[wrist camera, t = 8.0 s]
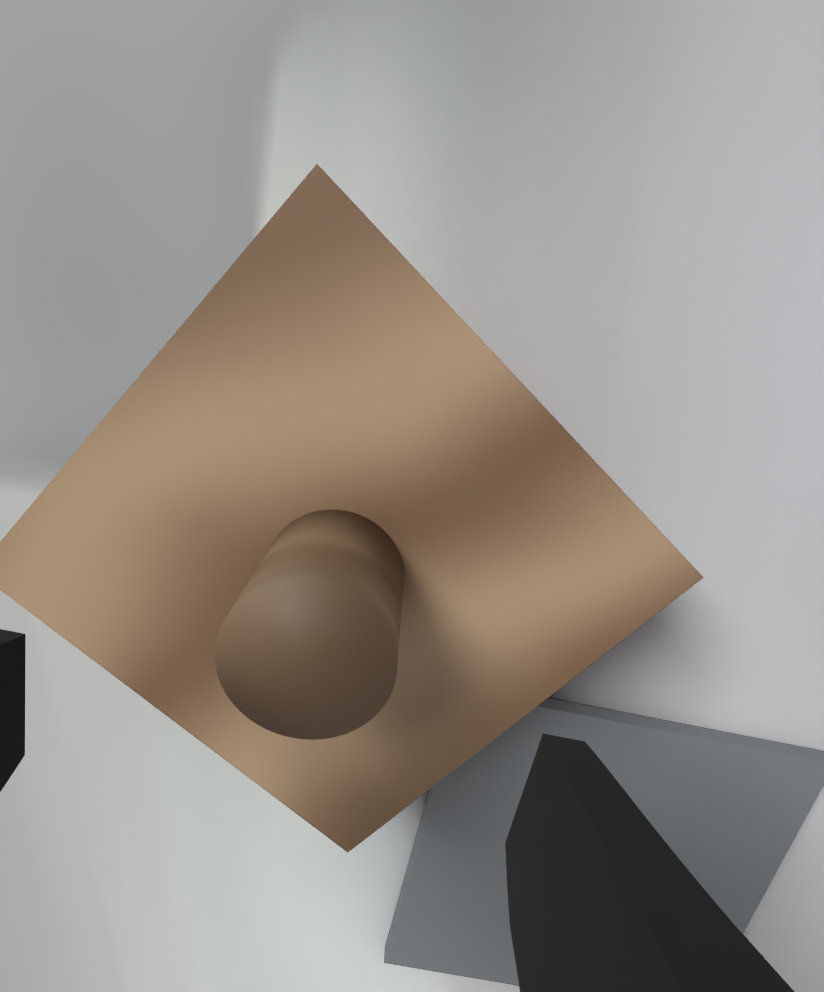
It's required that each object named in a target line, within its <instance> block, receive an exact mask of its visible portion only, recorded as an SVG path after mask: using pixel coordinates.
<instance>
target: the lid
mask: <svg viewBox="0 0 824 992" xmlns="http://www.w3.org/2000/svg"><path fill="white" fill-rule="evenodd" d="M702 578H703V576H702V575H701V574H700V573H699V572H698V571H697V570H696V569H695V568H694V567H693V566H692V565H691V564H690V563H689V561H688V560H687V559H686V558H685V557H684V556H683V555H682V554H681V553H680V552H679V551H678V550H677V549H676V548H675V546H674V545H673V544H672V543H671V542H670V541H669V540H668V539H667V538H666V537H665V536H664V535H663V534H662V533H661V531H660V530H659V529H658V528H657V527H656V526H655V525H654V524H653V523H652V522H651V521H650V520H649V519H648V518H647V517H646V515H645V514H644V513H643V512H642V511H641V510H640V509H639V508H638V507H637V506H636V505H635V504H634V503H633V502H632V500H631V499H630V498H629V497H628V496H627V495H626V494H625V493H624V492H623V491H622V490H621V489H620V488H619V487H618V485H617V484H616V483H615V482H614V481H613V480H612V479H611V478H610V477H609V476H608V475H607V474H606V473H605V472H604V470H603V469H602V468H601V467H600V466H599V465H598V464H597V463H596V462H595V461H594V460H593V459H592V458H591V457H590V456H589V454H588V453H587V452H586V451H585V450H584V449H583V448H582V447H581V446H580V445H579V444H578V443H577V442H576V441H575V439H574V438H573V437H572V436H571V435H570V434H569V433H568V432H567V431H566V430H565V429H564V428H563V427H562V426H561V424H560V423H559V422H558V421H557V420H556V419H555V418H554V417H553V416H552V415H551V414H550V413H549V412H548V411H547V409H546V408H545V407H544V406H543V405H542V404H541V403H540V402H539V401H538V400H537V399H536V398H535V397H534V396H533V394H532V393H531V392H530V391H529V390H528V389H527V388H526V387H525V386H524V385H523V384H522V383H521V382H520V381H519V380H518V378H517V377H516V376H515V375H514V374H513V373H512V372H511V371H510V370H509V369H508V368H507V367H506V366H505V365H504V363H503V362H502V361H501V360H500V359H499V358H498V357H497V356H496V355H495V354H494V353H493V352H492V351H491V350H490V348H489V347H488V346H487V345H486V344H485V343H484V342H483V341H482V340H481V339H480V338H479V337H478V336H477V335H476V333H475V332H474V331H473V330H472V329H471V328H470V327H469V326H468V325H467V324H466V323H465V322H464V321H463V320H462V319H461V317H460V316H459V315H458V314H457V313H456V312H455V311H454V310H453V309H452V308H451V307H450V306H449V305H448V304H447V302H446V301H445V300H444V299H443V298H442V297H441V296H440V295H439V294H438V293H437V292H436V291H435V290H434V289H433V287H432V286H431V285H430V284H429V283H428V282H427V281H426V280H425V279H424V278H423V277H422V276H421V275H420V274H419V272H418V271H417V270H416V269H415V268H414V267H413V266H412V265H411V264H410V263H409V262H408V261H407V260H406V259H405V258H404V256H403V255H402V254H401V253H400V252H399V251H398V250H397V249H396V248H395V247H394V246H393V245H392V244H391V243H390V241H389V240H388V239H387V238H386V237H385V236H384V235H383V234H382V233H381V232H380V231H379V230H378V229H377V228H376V226H375V225H374V224H373V223H372V222H371V221H370V220H369V219H368V218H367V217H366V216H365V215H364V214H363V213H362V211H361V210H360V209H359V208H358V207H357V206H356V205H355V204H354V203H353V202H352V201H351V200H350V199H349V198H348V197H347V195H346V194H345V193H344V192H343V191H342V190H341V189H340V188H339V187H338V186H337V185H336V184H335V183H334V182H333V180H332V179H331V178H330V177H329V176H328V175H327V174H326V173H325V172H324V171H323V170H322V169H321V168H320V167H319V165H318V164H316V166H315V167H314V168H313V169H312V170H311V172H310V173H309V174H308V175H307V176H306V178H305V179H304V180H303V181H302V182H301V184H300V185H299V186H298V187H297V188H296V190H295V191H294V192H293V193H292V194H291V195H290V197H289V198H288V199H287V200H286V201H285V203H284V204H283V205H282V206H281V207H280V209H279V210H278V211H277V212H276V213H275V215H274V216H273V217H272V218H271V219H270V221H269V222H268V223H267V224H266V225H265V227H264V228H263V229H262V230H261V231H260V232H259V234H258V235H257V236H256V237H255V238H254V240H253V241H252V242H251V243H250V244H249V246H248V247H247V248H246V249H245V250H244V252H243V253H242V254H241V255H240V256H239V258H238V259H237V260H236V261H235V262H234V264H233V265H232V266H231V267H230V268H229V269H228V271H227V272H226V273H225V274H224V276H223V277H222V278H221V279H220V280H219V281H218V283H217V284H216V285H215V286H214V287H213V289H212V290H211V291H210V292H209V293H208V295H207V296H206V297H205V298H204V299H203V301H202V302H201V303H200V304H199V305H198V307H197V308H196V309H195V310H194V311H193V312H192V314H191V315H190V316H189V317H188V318H187V320H186V321H185V322H184V323H183V325H182V326H181V327H180V328H179V329H178V330H177V332H176V333H175V334H174V335H173V336H172V338H171V339H170V340H169V341H168V342H167V344H166V345H165V346H164V347H163V348H162V349H161V351H160V352H159V353H158V354H157V355H156V357H155V358H154V359H153V360H152V361H151V363H150V364H149V365H148V366H147V367H146V369H145V370H144V371H143V372H142V373H141V375H140V376H139V377H138V378H137V379H136V381H135V382H134V383H133V384H132V385H131V386H130V388H129V389H128V390H127V391H126V392H125V394H124V395H123V396H122V397H121V398H120V400H119V401H118V402H117V403H116V404H115V406H114V407H113V408H112V409H111V410H110V412H109V413H108V414H107V415H106V416H105V418H104V419H103V420H102V421H101V422H100V423H99V425H98V426H97V427H96V428H95V429H94V431H93V432H92V433H91V434H90V436H89V437H88V438H87V439H86V440H85V441H84V443H83V444H82V445H81V446H80V448H79V449H78V450H77V451H76V452H75V453H74V455H73V456H72V457H71V458H70V459H69V460H68V462H67V463H66V464H65V465H64V466H63V468H62V469H61V470H60V471H59V472H58V474H57V475H56V476H55V477H54V478H53V480H52V481H51V482H50V483H49V484H48V486H47V487H46V488H45V489H44V490H43V492H42V493H41V494H40V495H39V496H38V497H37V499H36V500H35V501H34V502H33V503H32V505H31V506H30V507H29V508H28V509H27V511H26V512H25V513H24V514H23V515H22V517H21V518H20V519H19V520H18V521H17V523H16V524H15V525H14V526H13V527H12V529H11V530H10V531H9V532H8V533H7V535H6V536H5V537H4V538H3V539H2V540H1V542H0V590H1V591H2V592H4V593H5V594H6V595H8V596H9V597H10V598H12V599H13V600H14V601H16V602H17V603H18V604H20V605H21V606H22V607H24V608H25V609H26V610H28V611H29V612H30V613H32V614H33V615H34V616H36V617H37V618H38V619H39V620H41V621H42V622H43V623H45V624H46V625H47V626H49V627H50V628H51V629H53V630H54V631H55V632H57V633H58V634H59V635H61V636H62V637H63V638H65V639H66V640H67V641H69V642H70V643H71V644H73V645H74V646H75V647H77V648H78V649H79V650H81V651H82V652H83V653H84V654H86V655H87V656H88V657H90V658H91V659H92V660H94V661H95V662H96V663H98V664H99V665H100V666H102V667H103V668H104V669H106V670H107V671H108V672H110V673H111V674H112V675H114V676H115V677H116V678H118V679H119V680H120V681H122V682H123V683H124V684H126V685H127V686H128V687H129V688H131V689H132V690H133V691H135V692H136V693H137V694H139V695H140V696H141V697H143V698H144V699H145V700H147V701H148V702H149V703H151V704H152V705H153V706H155V707H156V708H157V709H159V710H160V711H161V712H163V713H164V714H165V715H167V716H168V717H169V718H171V719H172V720H173V721H174V722H176V723H177V724H178V725H180V726H181V727H182V728H184V729H185V730H186V731H188V732H189V733H190V734H192V735H193V736H194V737H196V738H197V739H198V740H200V741H201V742H202V743H204V744H205V745H206V746H208V747H209V748H210V749H212V750H213V751H214V752H216V753H217V754H218V755H220V756H221V757H222V758H223V759H225V760H226V761H227V762H229V763H230V764H231V765H233V766H234V767H235V768H237V769H238V770H239V771H241V772H242V773H243V774H245V775H246V776H247V777H249V778H250V779H251V780H253V781H254V782H255V783H257V784H258V785H259V786H261V787H262V788H263V789H265V790H266V791H267V792H268V793H270V794H271V795H272V796H274V797H275V798H276V799H278V800H279V801H280V802H282V803H283V804H284V805H286V806H287V807H288V808H290V809H291V810H292V811H294V812H295V813H296V814H298V815H299V816H300V817H302V818H303V819H304V820H306V821H307V822H308V823H310V824H311V825H312V826H313V827H315V828H316V829H317V830H319V831H320V832H321V833H323V834H324V835H325V836H327V837H328V838H329V839H331V840H332V841H333V842H335V843H336V844H337V845H339V846H340V847H341V848H343V849H344V850H345V851H347V852H349V851H350V850H352V849H353V848H354V847H355V846H357V845H358V844H359V843H361V842H362V841H363V840H364V839H366V838H367V837H368V836H370V835H371V834H372V833H374V832H375V831H376V830H377V829H379V828H380V827H381V826H383V825H384V824H385V823H386V822H388V821H389V820H390V819H392V818H393V817H394V816H396V815H397V814H398V813H399V812H401V811H402V810H403V809H405V808H406V807H407V806H408V805H410V804H411V803H412V802H414V801H415V800H416V799H418V798H419V797H420V796H421V795H423V794H424V793H425V792H427V791H428V790H429V789H430V788H432V787H433V786H434V785H436V784H437V783H438V782H440V781H441V780H442V779H443V778H445V777H446V776H447V775H449V774H450V773H451V772H452V771H454V770H455V769H456V768H458V767H459V766H460V765H462V764H463V763H464V762H465V761H467V760H468V759H469V758H471V757H472V756H473V755H474V754H476V753H477V752H478V751H480V750H481V749H482V748H484V747H485V746H486V745H487V744H489V743H490V742H491V741H493V740H494V739H495V738H496V737H498V736H499V735H500V734H502V733H503V732H504V731H506V730H507V729H508V728H509V727H511V726H512V725H513V724H515V723H516V722H517V721H518V720H520V719H521V718H522V717H524V716H525V715H526V714H528V713H529V712H530V711H531V710H533V709H534V708H535V707H537V706H538V705H539V704H541V703H542V702H543V701H544V700H546V699H547V698H548V697H550V696H551V695H552V694H553V693H555V692H556V691H557V690H559V689H560V688H561V687H563V686H564V685H565V684H566V683H568V682H569V681H570V680H572V679H573V678H574V677H575V676H577V675H578V674H579V673H581V672H582V671H583V670H585V669H586V668H587V667H588V666H590V665H591V664H592V663H594V662H595V661H596V660H597V659H599V658H600V657H601V656H603V655H604V654H605V653H607V652H608V651H609V650H610V649H612V648H613V647H614V646H616V645H617V644H618V643H619V642H621V641H622V640H623V639H625V638H626V637H627V636H629V635H630V634H631V633H632V632H634V631H635V630H636V629H638V628H639V627H640V626H641V625H643V624H644V623H645V622H647V621H648V620H649V619H651V618H652V617H653V616H654V615H656V614H657V613H658V612H660V611H661V610H662V609H663V608H665V607H666V606H667V605H669V604H670V603H671V602H673V601H674V600H675V599H676V598H678V597H679V596H680V595H682V594H683V593H684V592H685V591H687V590H688V589H689V588H691V587H692V586H693V585H695V584H696V583H697V582H698V581H700V580H701V579H702Z"/></svg>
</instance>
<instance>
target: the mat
mask: <svg viewBox="0 0 824 992" xmlns="http://www.w3.org/2000/svg"><path fill="white" fill-rule="evenodd" d="M543 733H544V734H549V735H554V736H559V737H565V738H570V739H575V740H580V741H585V742H586V743H587V744H588V746H589V747H590V748H591V749H592V750H593V752H594V753H595V754H596V755H597V756H598V758H599V759H600V760H601V761H602V762H603V764H604V765H605V766H606V768H607V769H608V770H609V771H610V773H611V774H612V775H613V776H614V778H615V779H616V780H617V781H618V783H619V784H620V785H621V786H622V788H623V789H624V790H625V792H626V793H627V794H628V795H629V797H630V798H631V799H632V800H633V802H634V803H635V804H636V806H637V807H638V808H639V809H640V811H641V812H642V813H643V814H644V816H645V817H646V818H647V819H648V821H649V822H650V823H651V824H652V826H653V827H654V828H655V830H656V831H657V832H658V833H659V834H660V836H661V837H662V838H663V839H664V841H665V842H666V843H667V844H668V846H669V847H670V848H671V849H672V851H673V852H674V853H675V854H676V856H677V857H678V858H679V859H680V860H681V862H682V863H683V864H684V865H685V867H686V868H687V869H688V870H689V871H690V873H691V874H692V875H693V876H694V878H695V879H696V880H697V881H698V882H699V884H700V885H701V886H702V887H703V888H704V890H705V891H706V892H707V893H708V894H709V895H710V897H711V898H712V899H713V900H714V901H715V903H716V904H717V905H718V906H719V907H720V908H721V910H722V911H723V912H724V913H725V914H726V915H727V917H728V918H729V919H730V920H731V921H732V922H733V924H734V925H735V926H736V927H737V928H738V929H739V930H740V932H741V933H742V934H743V932H744V930H745V928H746V927H747V925H748V923H749V921H750V919H751V917H752V916H753V914H754V912H755V910H756V908H757V906H758V905H759V903H760V901H761V899H762V897H763V895H764V893H765V892H766V890H767V888H768V886H769V884H770V882H771V881H772V879H773V877H774V875H775V873H776V871H777V870H778V868H779V866H780V864H781V862H782V860H783V859H784V857H785V855H786V853H787V851H788V849H789V848H790V846H791V844H792V842H793V840H794V838H795V837H796V835H797V833H798V831H799V829H800V827H801V826H802V824H803V822H804V820H805V818H806V816H807V814H808V813H809V811H810V809H811V807H812V805H813V803H814V802H815V800H816V798H817V796H818V794H819V792H820V791H821V789H822V787H823V785H824V751H820V750H815V749H810V748H805V747H799V746H794V745H789V744H784V743H779V742H774V741H769V740H763V739H758V738H753V737H748V736H743V735H738V734H732V733H727V732H722V731H717V730H712V729H707V728H702V727H696V726H691V725H686V724H681V723H676V722H671V721H665V720H660V719H655V718H650V717H645V716H640V715H635V714H629V713H624V712H619V711H614V710H609V709H604V708H598V707H593V706H588V705H583V704H578V703H573V702H568V701H562V700H557V699H552V698H547V699H546V700H544V701H543V702H542V703H541V704H539V705H538V706H537V707H535V708H534V709H533V710H531V711H530V712H529V713H528V714H526V715H525V716H524V717H522V718H521V719H520V720H518V721H517V722H516V723H515V724H513V725H512V726H511V727H509V728H508V729H507V730H506V731H504V732H503V733H502V734H500V735H499V736H498V737H496V738H495V739H494V740H493V741H491V742H490V743H489V744H487V745H486V746H485V747H484V748H482V749H481V750H480V751H478V752H477V753H476V754H474V755H473V756H472V757H471V758H469V759H468V760H467V761H465V762H464V763H463V764H462V765H460V766H459V767H458V768H456V769H455V770H454V771H452V772H451V773H450V774H449V775H447V776H446V777H445V778H443V779H442V780H441V781H440V782H438V783H437V784H436V785H434V786H433V787H432V788H430V789H429V791H428V795H427V799H426V802H425V806H424V809H423V813H422V816H421V820H420V824H419V827H418V831H417V834H416V838H415V842H414V845H413V849H412V852H411V856H410V859H409V863H408V867H407V870H406V874H405V877H404V881H403V884H402V888H401V892H400V895H399V899H398V902H397V906H396V909H395V913H394V917H393V920H392V924H391V927H390V931H389V934H388V938H387V942H386V945H385V955H384V963H388V964H394V965H400V966H406V967H412V968H418V969H424V970H430V971H435V972H441V973H447V974H453V975H459V976H465V977H471V978H476V979H482V980H488V981H494V982H500V983H506V984H512V985H518V986H519V981H518V974H517V968H516V962H515V956H514V949H513V943H512V936H511V930H510V922H509V907H508V891H507V872H506V850H505V842H506V839H507V836H508V833H509V830H510V827H511V824H512V822H513V819H514V816H515V813H516V810H517V807H518V804H519V801H520V798H521V795H522V792H523V790H524V787H525V784H526V781H527V778H528V775H529V772H530V769H531V766H532V763H533V760H534V758H535V755H536V752H537V749H538V746H539V743H540V740H541V737H542V734H543Z"/></svg>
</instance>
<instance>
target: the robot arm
mask: <svg viewBox="0 0 824 992" xmlns="http://www.w3.org/2000/svg"><path fill="white" fill-rule="evenodd" d="M24 755H25V634H22V633H17V632H12V631H6V630H1V629H0V791H1V790H2V788H3V787H4V785H5V784H6V782H7V781H8V779H9V778H10V776H11V775H12V773H13V772H14V770H15V769H16V767H17V766H18V764H19V763H20V761H21V760H22V758H23V757H24ZM505 850H506V872H507V891H508V907H509V922H510V930H511V936H512V943H513V949H514V956H515V962H516V968H517V974H518V981H519V987H520V992H794V991H793V990H792V989H791V988H790V986H789V985H788V984H787V983H786V982H785V981H784V980H783V979H782V978H781V976H780V975H779V974H778V973H777V972H776V971H775V970H774V969H773V967H772V966H771V965H770V964H769V963H768V962H767V961H766V960H765V959H764V957H763V956H762V955H761V954H760V953H759V952H758V951H757V950H756V948H755V947H754V946H753V945H752V944H751V943H750V942H749V941H748V939H747V938H746V937H745V936H744V935H743V934H742V933H741V932H740V930H739V929H738V928H737V927H736V926H735V925H734V924H733V922H732V921H731V920H730V919H729V918H728V917H727V915H726V914H725V913H724V912H723V911H722V910H721V908H720V907H719V906H718V905H717V904H716V903H715V901H714V900H713V899H712V898H711V897H710V895H709V894H708V893H707V892H706V891H705V890H704V888H703V887H702V886H701V885H700V884H699V882H698V881H697V880H696V879H695V878H694V876H693V875H692V874H691V873H690V871H689V870H688V869H687V868H686V867H685V865H684V864H683V863H682V862H681V860H680V859H679V858H678V857H677V856H676V854H675V853H674V852H673V851H672V849H671V848H670V847H669V846H668V844H667V843H666V842H665V841H664V839H663V838H662V837H661V836H660V834H659V833H658V832H657V831H656V830H655V828H654V827H653V826H652V824H651V823H650V822H649V821H648V819H647V818H646V817H645V816H644V814H643V813H642V812H641V811H640V809H639V808H638V807H637V806H636V804H635V803H634V802H633V800H632V799H631V798H630V797H629V795H628V794H627V793H626V792H625V790H624V789H623V788H622V786H621V785H620V784H619V783H618V781H617V780H616V779H615V778H614V776H613V775H612V774H611V773H610V771H609V770H608V769H607V768H606V766H605V765H604V764H603V762H602V761H601V760H600V759H599V758H598V756H597V755H596V754H595V753H594V752H593V750H592V749H591V748H590V747H589V746H588V744H587V743H586V742H585V741H580V740H575V739H570V738H565V737H559V736H554V735H549V734H544V733H543V734H542V737H541V740H540V743H539V746H538V749H537V752H536V755H535V758H534V760H533V763H532V766H531V769H530V772H529V775H528V778H527V781H526V784H525V787H524V790H523V792H522V795H521V798H520V801H519V804H518V807H517V810H516V813H515V816H514V819H513V822H512V824H511V827H510V830H509V833H508V836H507V839H506V842H505Z"/></svg>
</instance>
